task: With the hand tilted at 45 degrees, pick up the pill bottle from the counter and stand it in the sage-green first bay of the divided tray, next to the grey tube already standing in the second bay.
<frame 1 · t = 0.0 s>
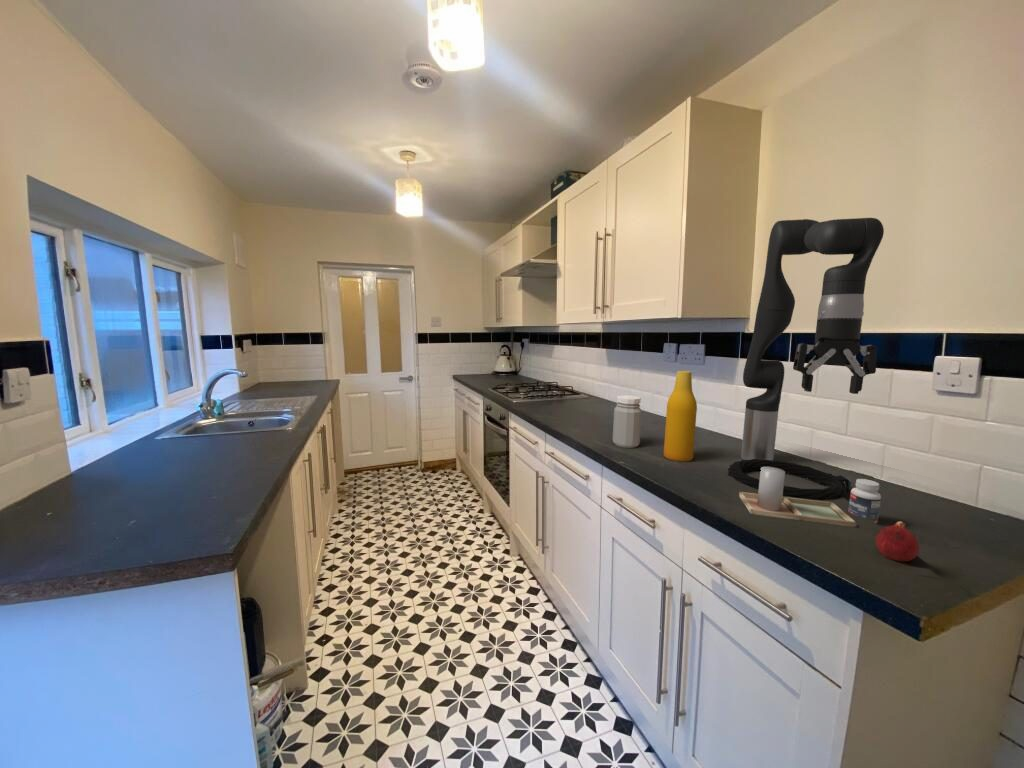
hand: (830, 392, 89), 29 cm above the countertop, tool pointing down, fingers open, 8 cm apart
jar: (625, 445, 151), on the countertop
cable lock: (787, 486, 114), on the countertop
grey tube: (768, 506, 96), point 1 cm above the countertop, touching divided tray
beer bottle: (677, 458, 137), on the countertop
divided tray: (791, 515, 95), on the countertop
pill bottle: (862, 519, 94), on the countertop
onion: (893, 563, 76), on the countertop
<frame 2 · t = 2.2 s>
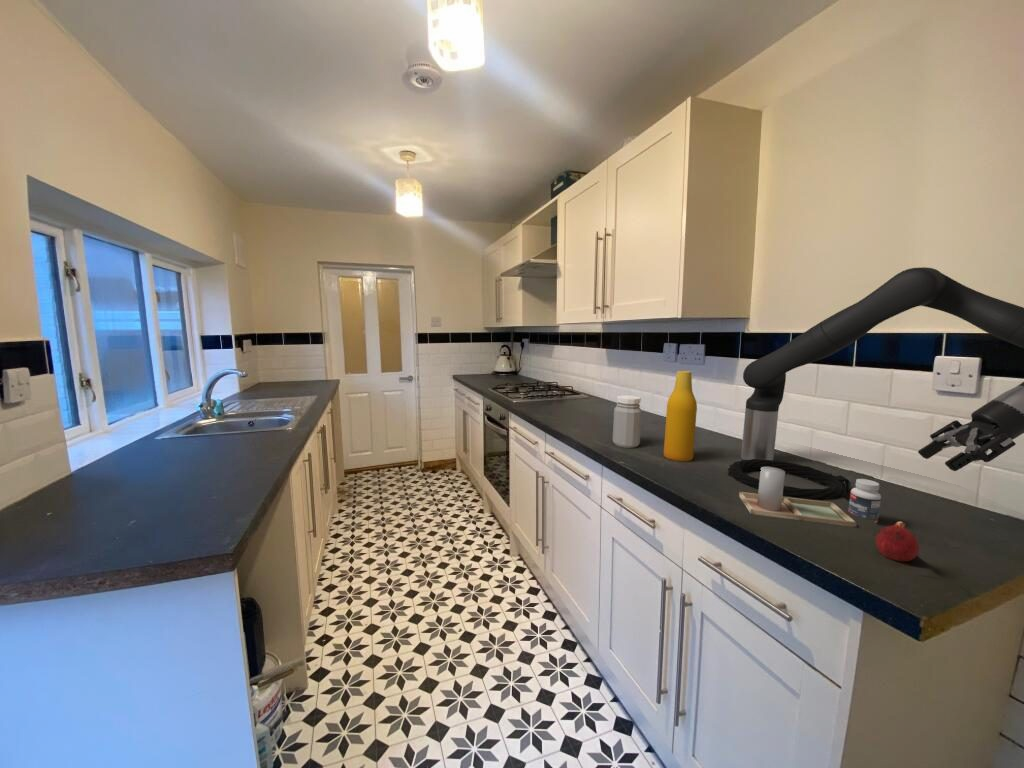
hand: (934, 461, 88), 15 cm above the countertop, tool tilted 45°, fingers open, 8 cm apart
nothing on the countertop moved.
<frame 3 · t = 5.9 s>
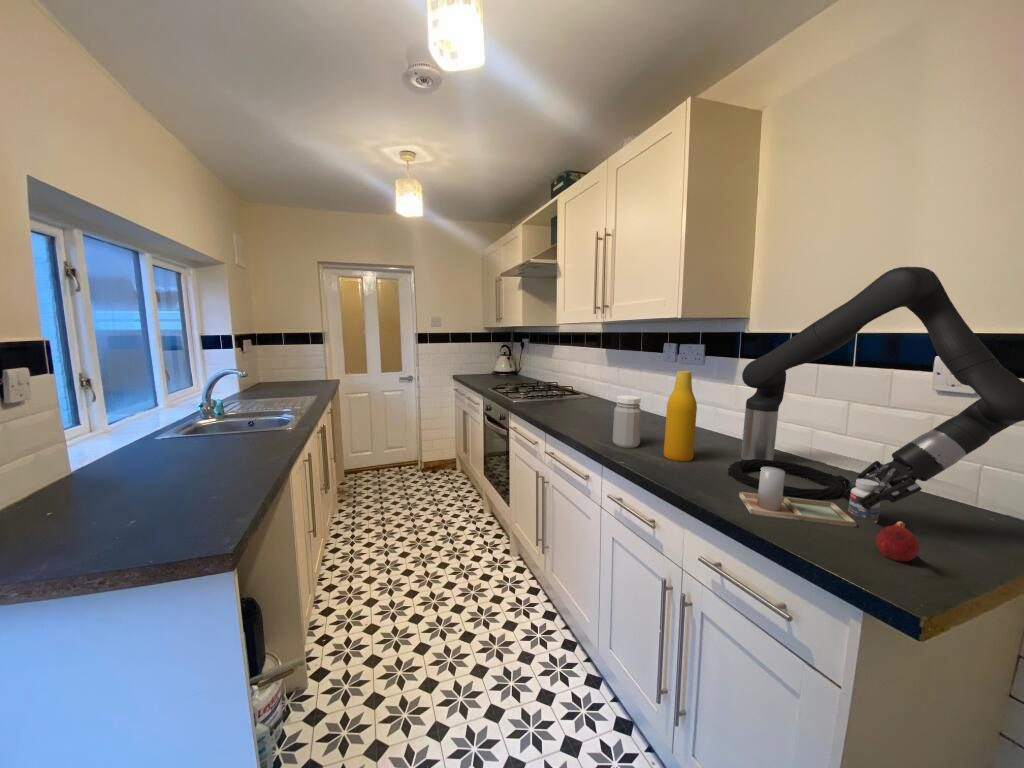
hand: (855, 500, 94), 4 cm above the countertop, tool tilted 45°, fingers closed on pill bottle, 5 cm apart
pill bottle: (862, 519, 94), on the countertop, touching gripper
everything else where it was.
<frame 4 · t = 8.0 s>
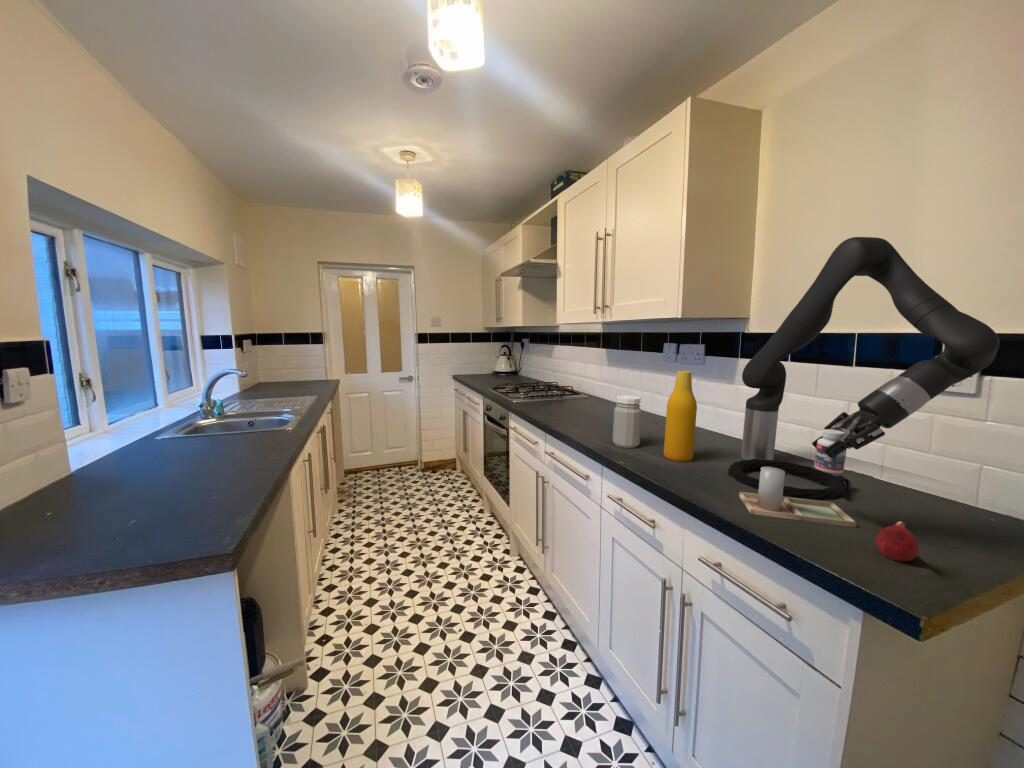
hand: (821, 450, 92), 16 cm above the countertop, tool tilted 45°, fingers closed on pill bottle, 5 cm apart
pill bottle: (828, 470, 92), point 11 cm above the countertop, touching gripper
everything else where it was.
when the fingers open (7 cm above the countertop, at t = 10.3 s): pill bottle drops 1 cm, resting on divided tray.
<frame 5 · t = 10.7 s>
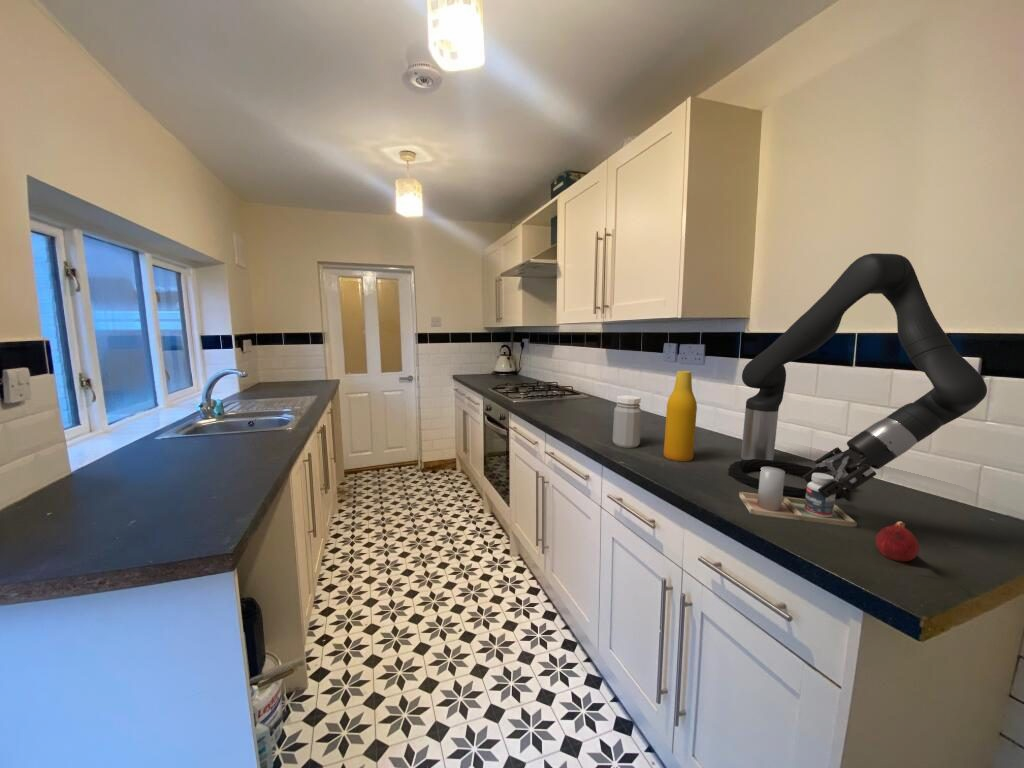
hand: (813, 487, 93), 7 cm above the countertop, tool tilted 45°, fingers open, 8 cm apart
pill bottle: (818, 513, 93), point 1 cm above the countertop, touching divided tray
everything else where it was.
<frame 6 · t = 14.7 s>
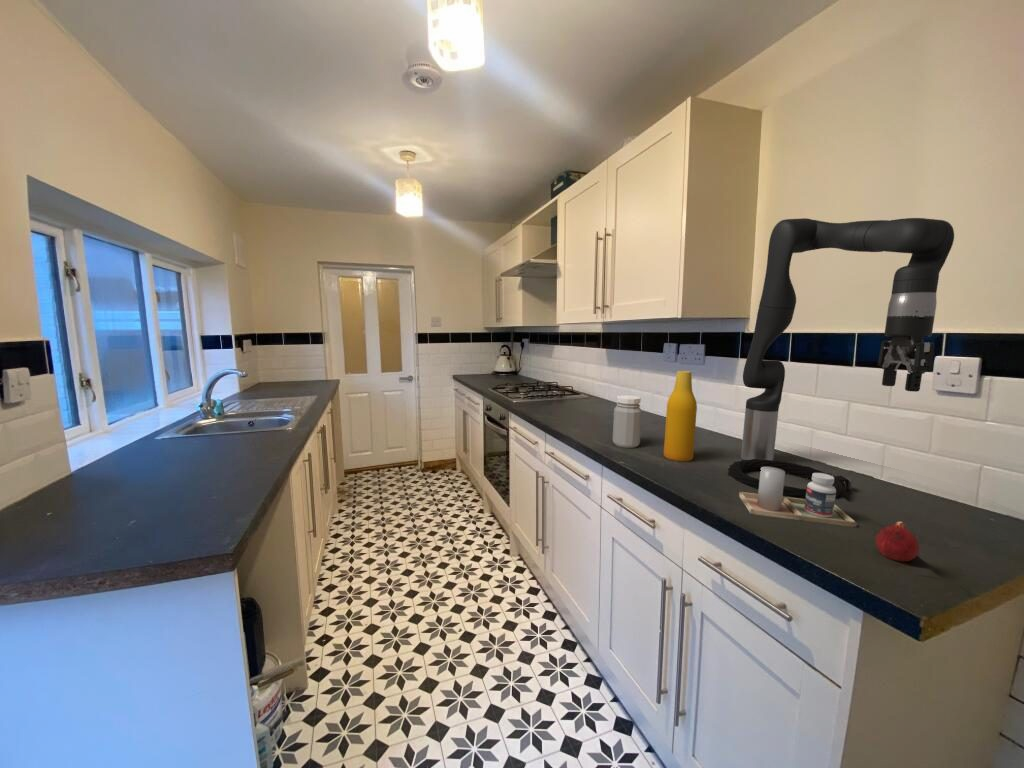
hand: (899, 388, 91), 30 cm above the countertop, tool pointing down, fingers open, 8 cm apart
nothing on the countertop moved.
at the end: pill bottle inside the target area on the divided tray (0.1 cm from its centre), point 1.1 cm above the divided tray's base; pill bottle tilted 0°; the gripper is holding nothing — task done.
